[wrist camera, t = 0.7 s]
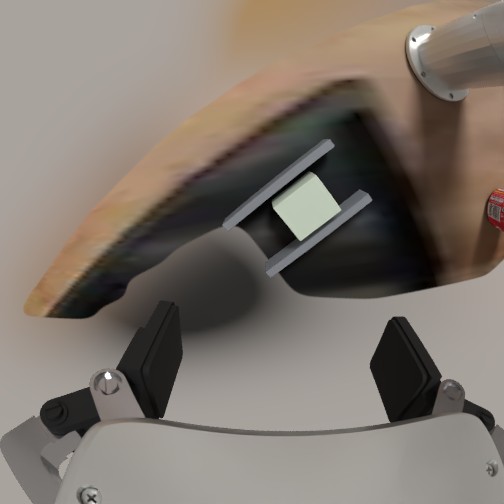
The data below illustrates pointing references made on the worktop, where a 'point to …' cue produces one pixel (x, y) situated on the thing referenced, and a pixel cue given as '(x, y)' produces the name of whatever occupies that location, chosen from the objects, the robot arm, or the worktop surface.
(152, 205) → the worktop surface
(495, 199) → the soda can
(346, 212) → the channel
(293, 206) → the block
